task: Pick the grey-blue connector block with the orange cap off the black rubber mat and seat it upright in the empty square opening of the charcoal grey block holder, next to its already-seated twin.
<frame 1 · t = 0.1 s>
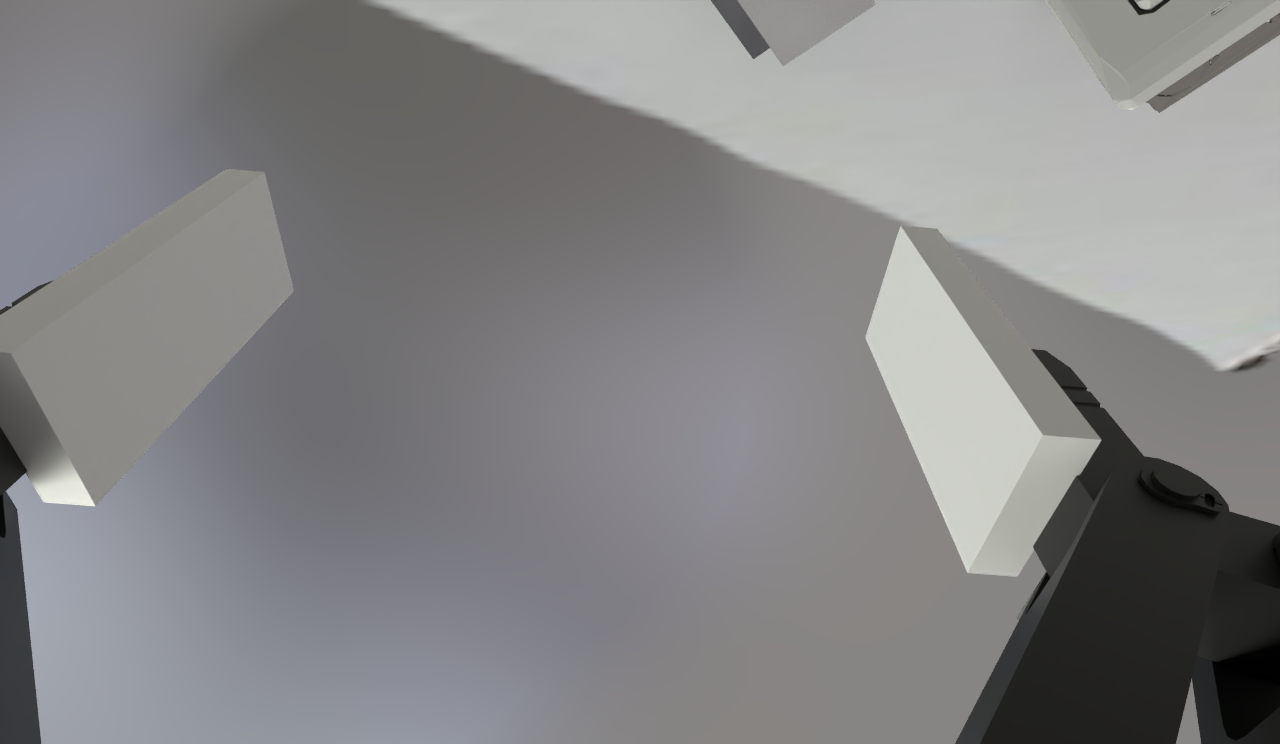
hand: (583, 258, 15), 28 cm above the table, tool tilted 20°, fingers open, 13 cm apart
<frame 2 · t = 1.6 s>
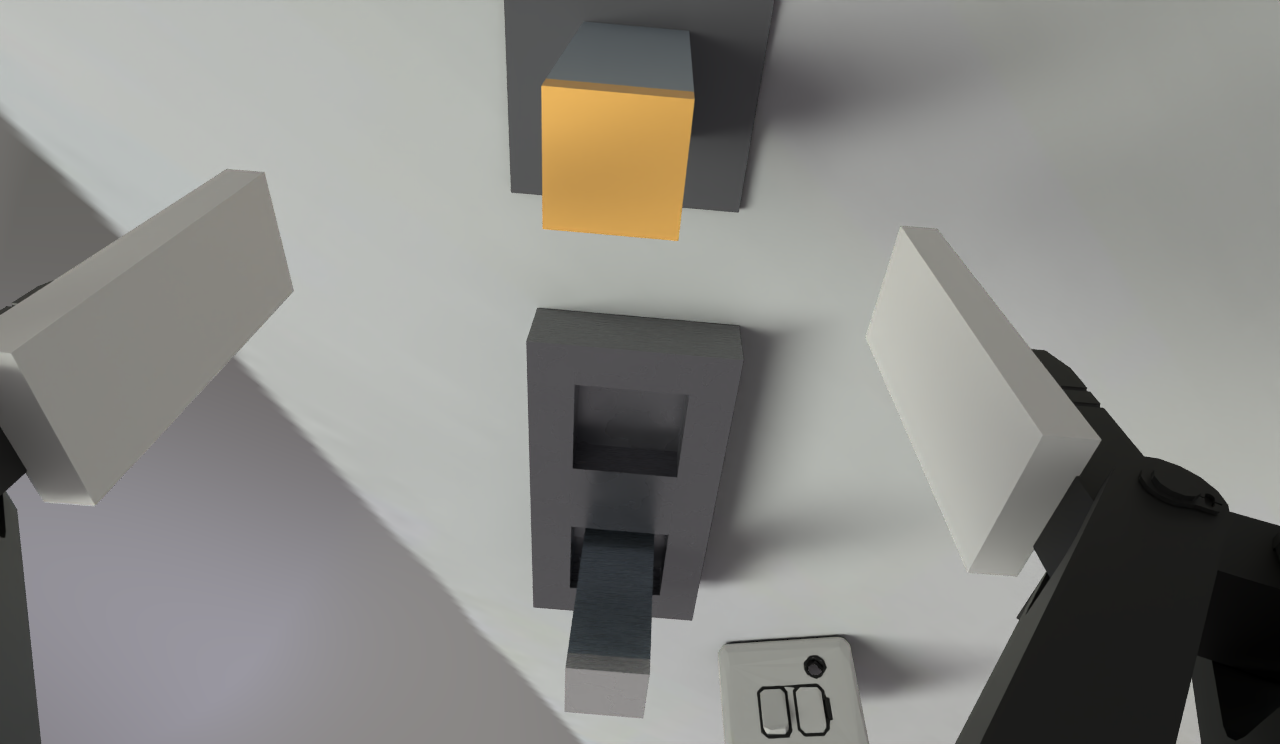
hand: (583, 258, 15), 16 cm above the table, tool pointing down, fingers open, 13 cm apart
grey block holder: (625, 464, 40), on the table
plug: (632, 81, 27), resting on mat
mat: (633, 79, 27), on the table
electrical switch: (786, 655, 51), on the table
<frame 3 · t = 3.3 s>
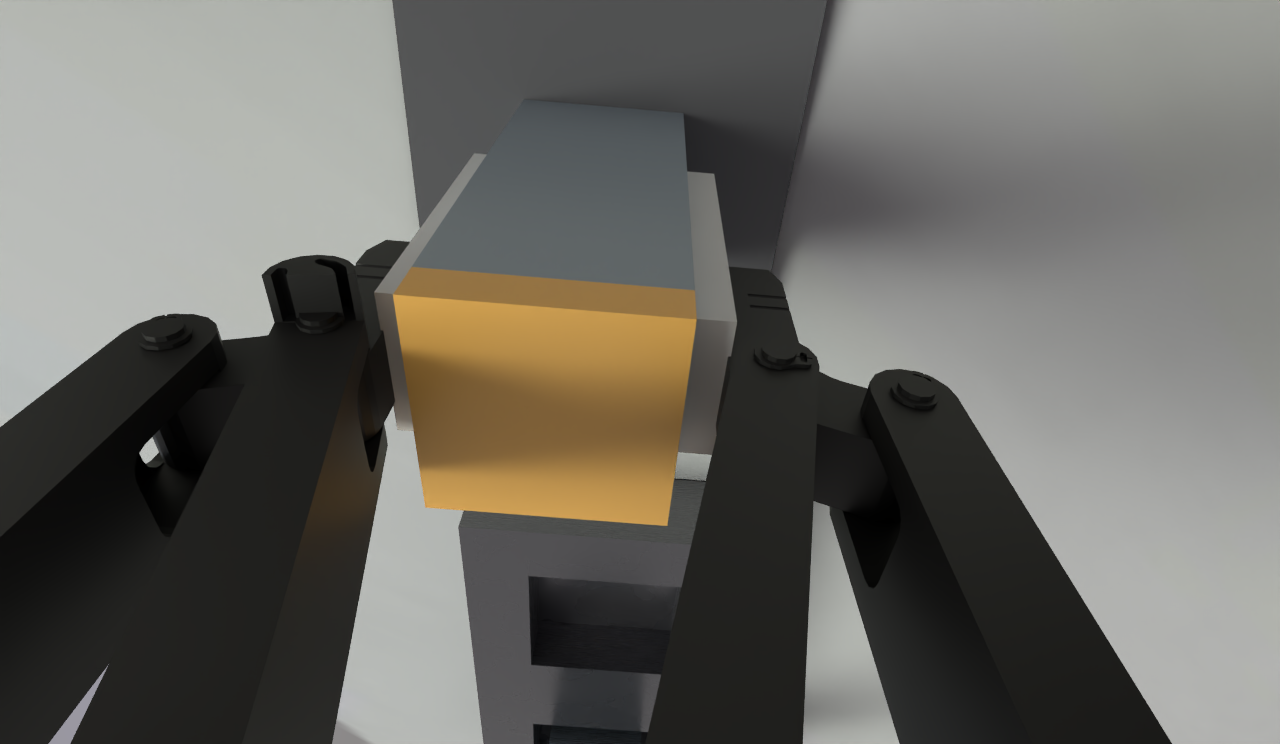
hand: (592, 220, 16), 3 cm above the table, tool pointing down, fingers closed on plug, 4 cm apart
grey block holder: (604, 635, 31), on the table
plug: (600, 183, 18), resting on mat, touching gripper
mat: (601, 178, 19), on the table
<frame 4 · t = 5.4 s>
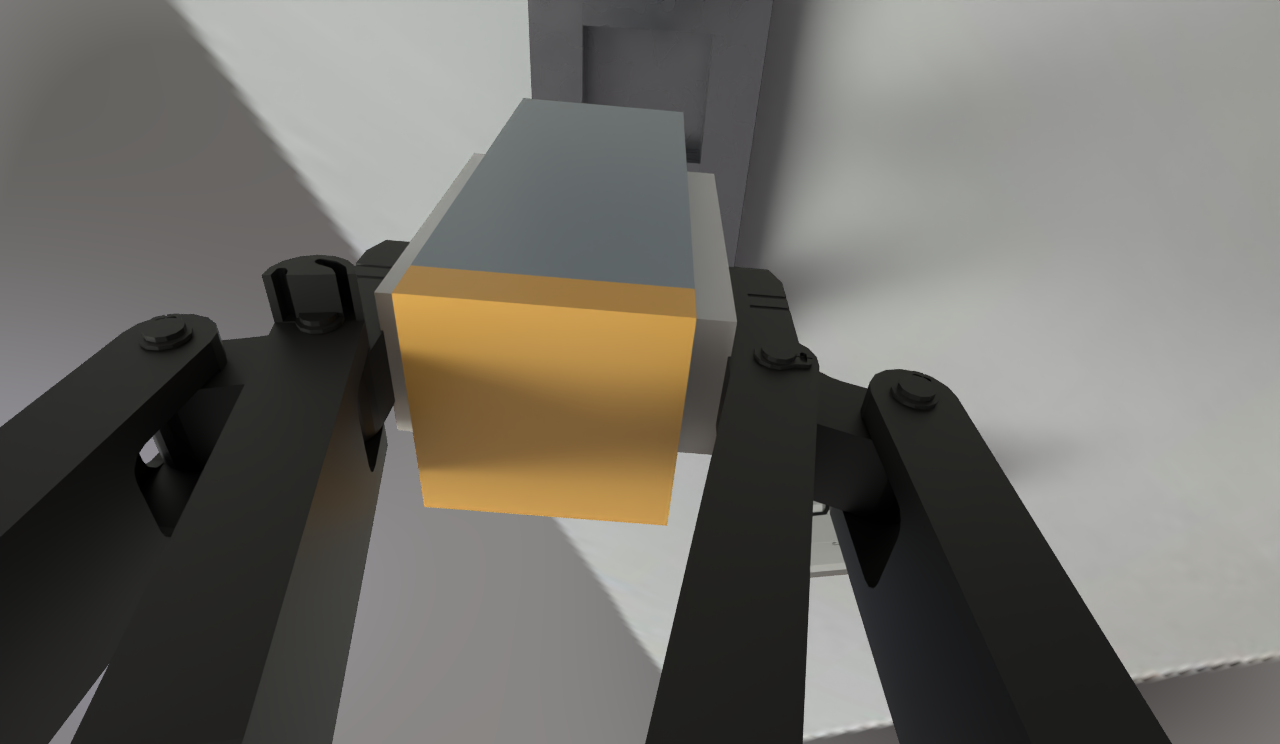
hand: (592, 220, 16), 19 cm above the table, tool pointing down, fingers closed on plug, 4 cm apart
grey block holder: (641, 183, 36), on the table
plug: (600, 182, 18), point 17 cm above the table, touching gripper
electrical switch: (819, 452, 46), on the table
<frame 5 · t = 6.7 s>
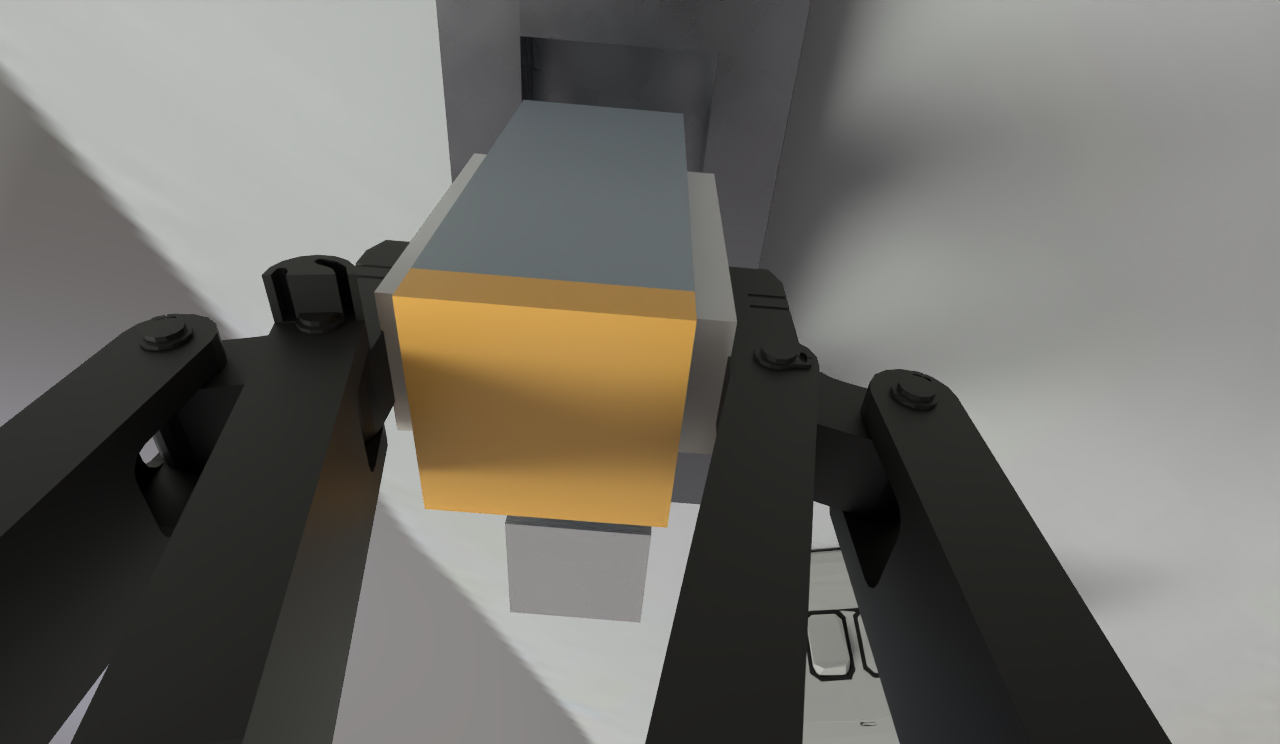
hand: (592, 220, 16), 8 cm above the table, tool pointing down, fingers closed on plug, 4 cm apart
grey block holder: (612, 252, 26), on the table
plug: (600, 184, 18), point 6 cm above the table, touching gripper
electrical switch: (837, 575, 37), on the table
when the fingers open (4 cm above the table, at t = 7.7 s): plug stays where it is, resting on grey block holder.
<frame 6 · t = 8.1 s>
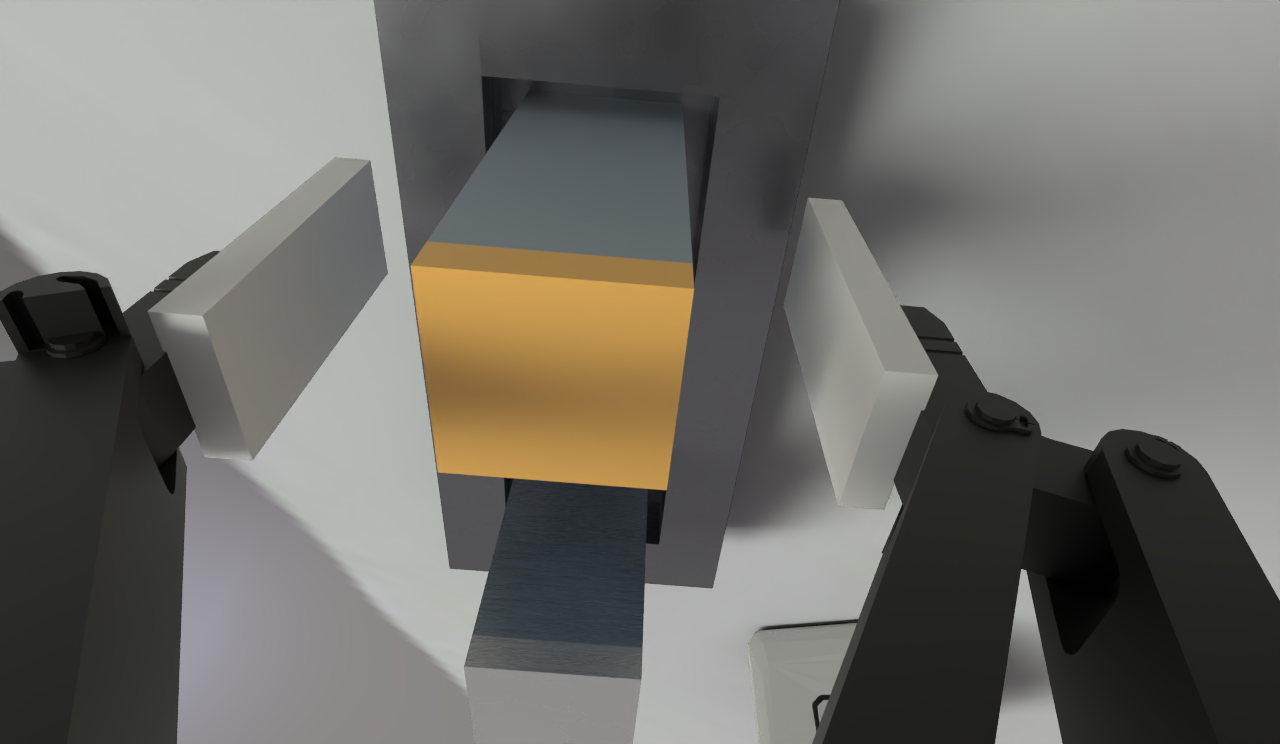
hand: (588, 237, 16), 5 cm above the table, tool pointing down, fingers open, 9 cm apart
grey block holder: (598, 311, 23), on the table
plug: (602, 172, 19), point 1 cm above the table, touching grey block holder
electrical switch: (849, 647, 34), on the table
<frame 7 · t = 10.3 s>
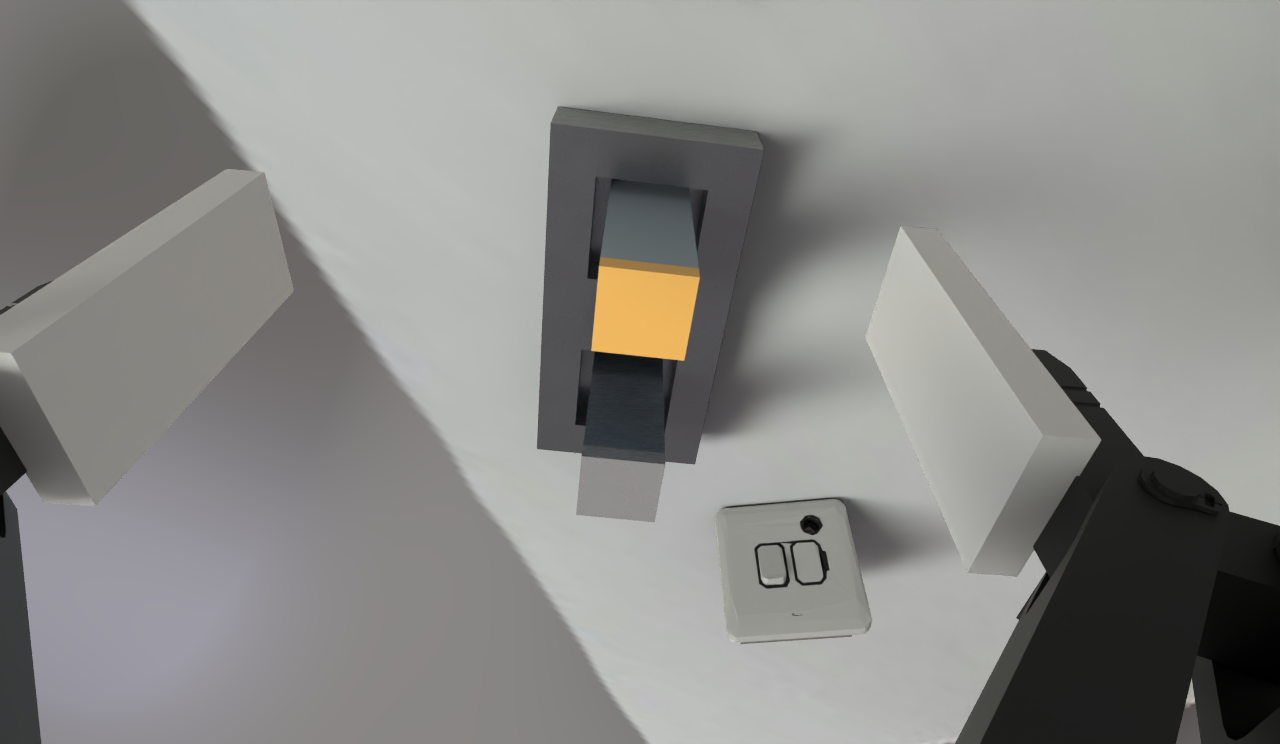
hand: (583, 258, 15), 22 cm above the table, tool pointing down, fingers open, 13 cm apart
grey block holder: (635, 294, 40), on the table
plug: (645, 220, 36), point 1 cm above the table, touching grey block holder
electrical switch: (781, 523, 51), on the table
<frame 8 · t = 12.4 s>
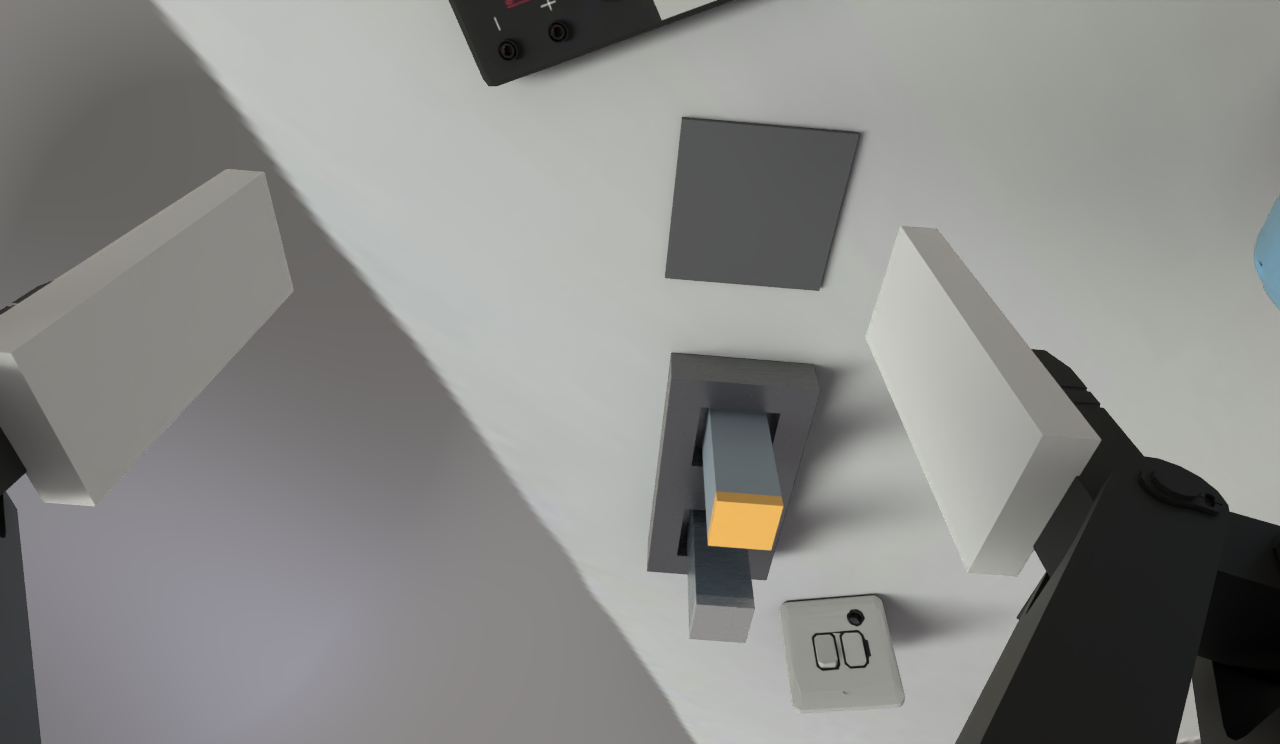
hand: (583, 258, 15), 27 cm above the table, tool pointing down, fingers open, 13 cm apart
grey block holder: (721, 463, 54), on the table
plug: (732, 422, 50), point 1 cm above the table, touching grey block holder
mat: (754, 208, 42), on the table
electrical switch: (831, 611, 65), on the table
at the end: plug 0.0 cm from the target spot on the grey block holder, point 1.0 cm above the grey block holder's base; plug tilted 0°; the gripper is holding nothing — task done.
